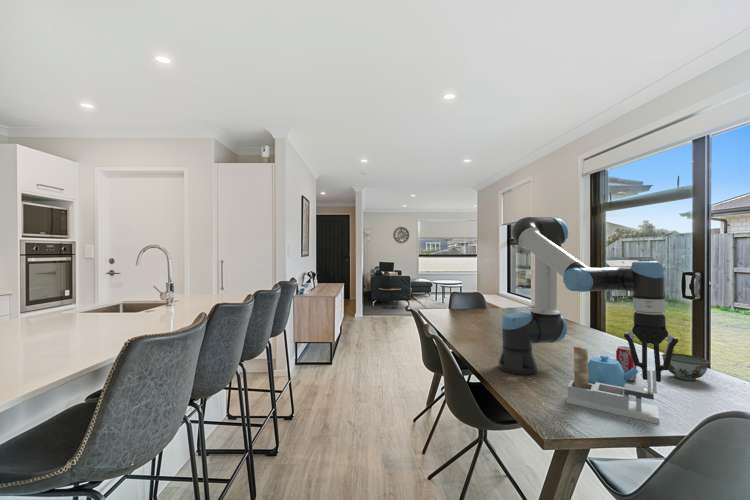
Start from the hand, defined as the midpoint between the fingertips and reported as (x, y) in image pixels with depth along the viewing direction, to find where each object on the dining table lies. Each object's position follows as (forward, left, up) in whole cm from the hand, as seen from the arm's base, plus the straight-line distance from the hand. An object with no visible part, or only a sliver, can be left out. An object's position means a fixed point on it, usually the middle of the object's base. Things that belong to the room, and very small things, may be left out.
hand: (652, 391), depth 103 cm
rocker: (-3, 0, -1) cm, 3 cm away
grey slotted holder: (-10, 0, -7) cm, 13 cm away
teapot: (-13, +18, -8) cm, 24 cm away
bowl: (+11, +47, -8) cm, 49 cm away
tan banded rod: (-18, 0, -6) cm, 19 cm away
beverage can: (-7, +33, -8) cm, 35 cm away
